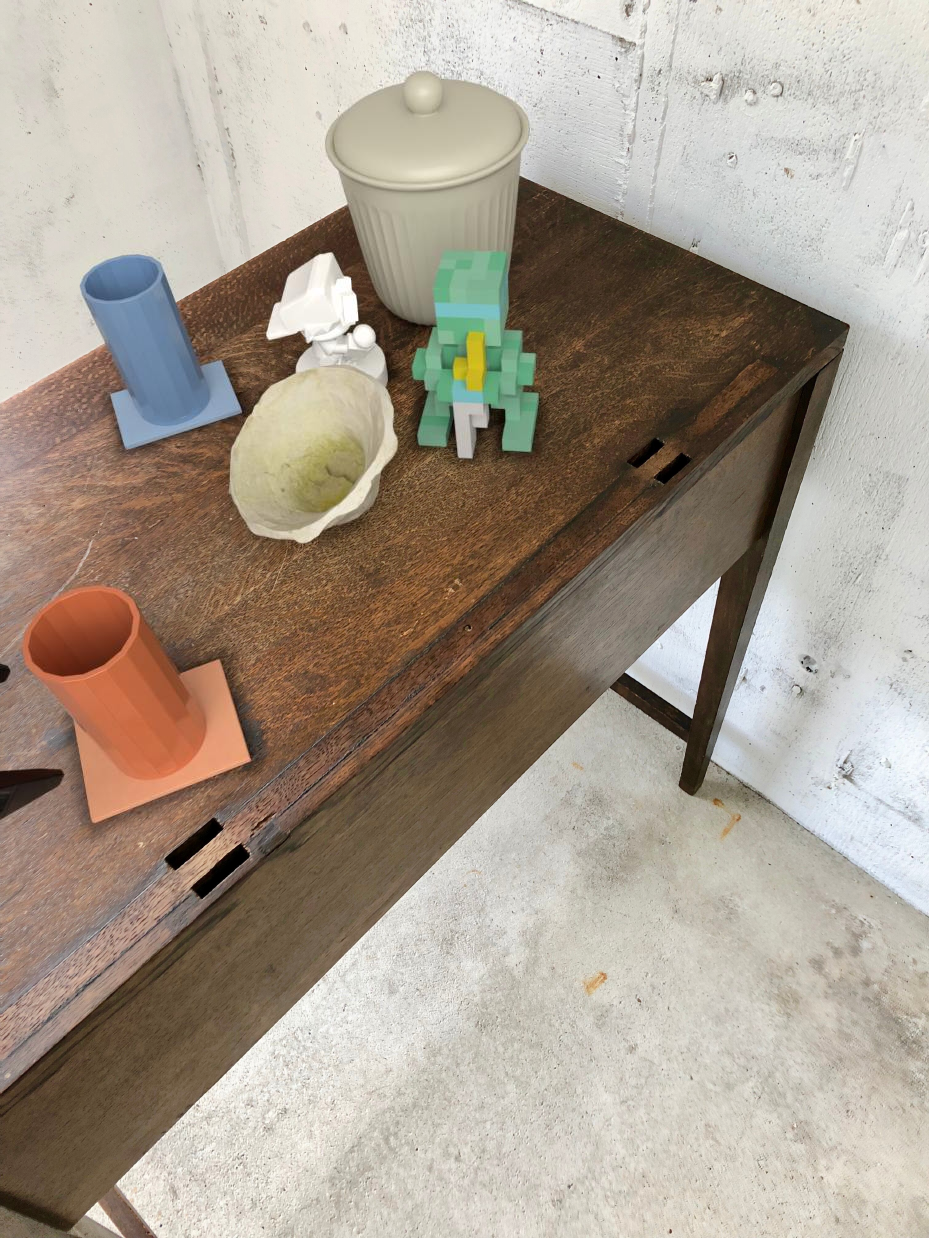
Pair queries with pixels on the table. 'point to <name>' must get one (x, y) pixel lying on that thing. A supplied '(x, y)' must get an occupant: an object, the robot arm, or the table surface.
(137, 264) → the blue cup
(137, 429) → the blue mat
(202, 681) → the peach mat
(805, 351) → the table surface
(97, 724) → the terracotta cup
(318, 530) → the bowl
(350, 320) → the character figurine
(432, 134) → the canister
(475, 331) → the toy
